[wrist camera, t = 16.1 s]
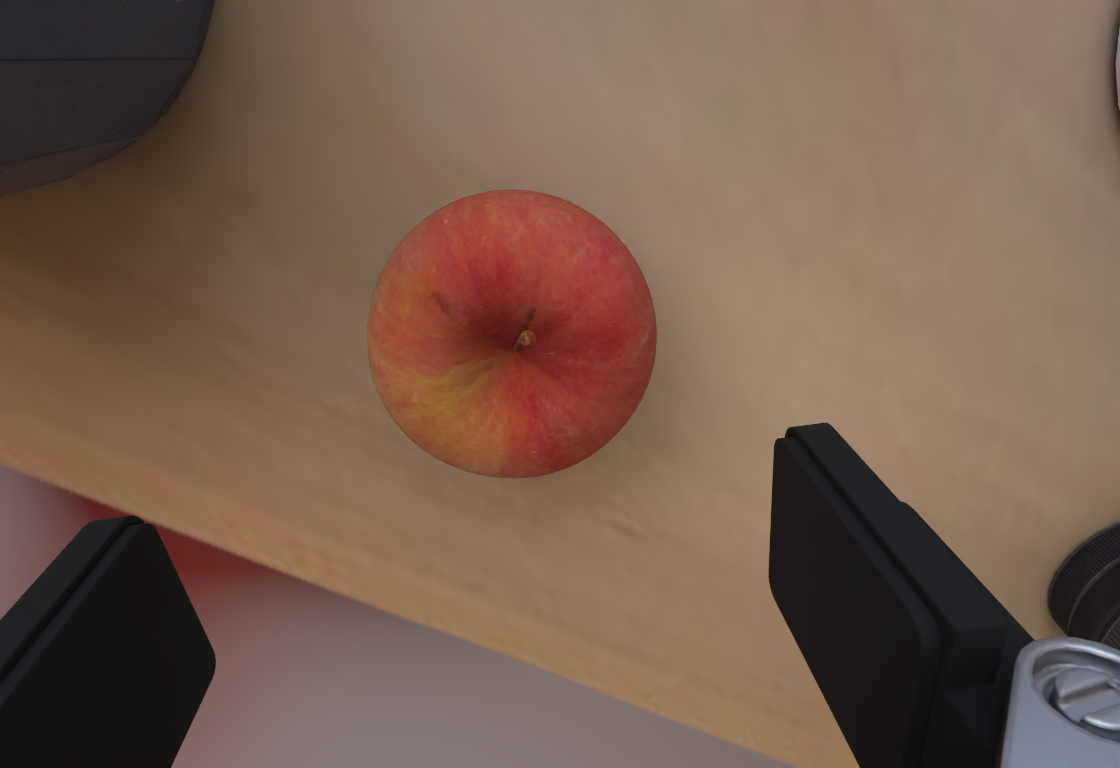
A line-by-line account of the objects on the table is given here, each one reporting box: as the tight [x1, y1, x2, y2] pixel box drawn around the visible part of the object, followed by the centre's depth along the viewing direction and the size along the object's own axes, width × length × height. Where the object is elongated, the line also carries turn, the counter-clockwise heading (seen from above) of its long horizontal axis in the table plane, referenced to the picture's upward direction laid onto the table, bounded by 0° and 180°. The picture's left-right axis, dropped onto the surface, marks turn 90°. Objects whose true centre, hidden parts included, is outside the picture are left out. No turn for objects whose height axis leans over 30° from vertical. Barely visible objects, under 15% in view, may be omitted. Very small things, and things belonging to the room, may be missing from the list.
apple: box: [367, 190, 657, 478], centre depth 18 cm, size 7×7×8 cm
